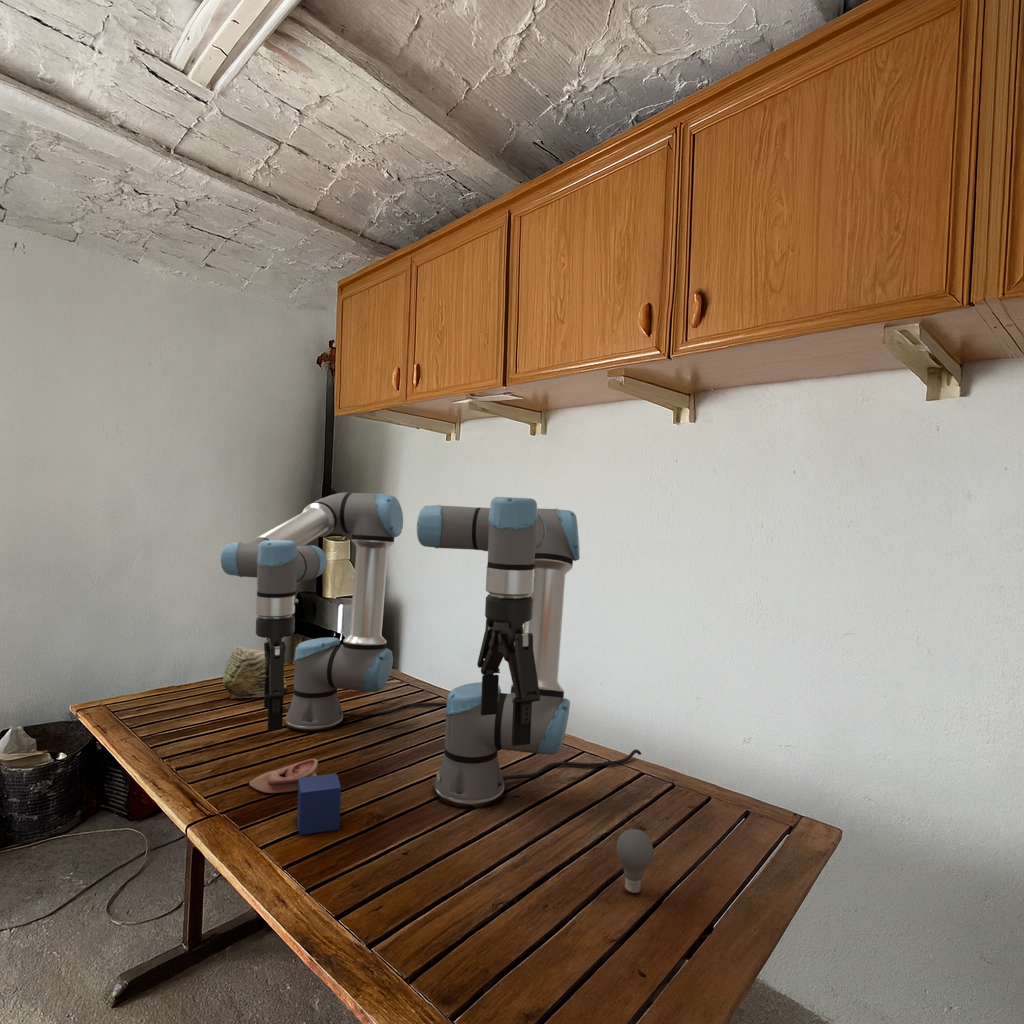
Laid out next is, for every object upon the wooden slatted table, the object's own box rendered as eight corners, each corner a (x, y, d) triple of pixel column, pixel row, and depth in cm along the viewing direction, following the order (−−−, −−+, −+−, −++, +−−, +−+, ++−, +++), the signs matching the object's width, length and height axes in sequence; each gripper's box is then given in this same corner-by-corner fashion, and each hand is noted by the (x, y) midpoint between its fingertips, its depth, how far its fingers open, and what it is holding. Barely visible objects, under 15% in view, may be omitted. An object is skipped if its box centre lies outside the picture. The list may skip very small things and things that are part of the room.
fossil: (218, 695, 195) (220, 647, 195) (278, 685, 208) (279, 640, 207) (228, 703, 189) (230, 653, 188) (289, 692, 201) (290, 645, 201)
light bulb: (610, 879, 108) (613, 822, 108) (644, 879, 109) (647, 822, 109) (619, 902, 102) (622, 840, 102) (655, 901, 103) (658, 840, 103)
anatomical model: (241, 770, 135) (272, 750, 146) (240, 789, 135) (271, 767, 146) (297, 779, 132) (324, 757, 144) (297, 798, 132) (324, 775, 144)
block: (299, 835, 118) (300, 792, 118) (296, 818, 124) (298, 777, 124) (339, 829, 121) (341, 787, 121) (335, 812, 127) (336, 773, 127)
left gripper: (301, 627, 120) (297, 737, 121) (289, 604, 143) (286, 696, 144) (258, 629, 117) (255, 742, 118) (253, 605, 140) (251, 700, 141)
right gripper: (567, 607, 90) (560, 756, 90) (502, 583, 113) (497, 701, 113) (518, 609, 87) (512, 762, 87) (462, 584, 110) (457, 705, 110)
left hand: (272, 717), depth 131 cm, fingers open, 13 cm apart
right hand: (503, 728), depth 100 cm, fingers open, 13 cm apart
